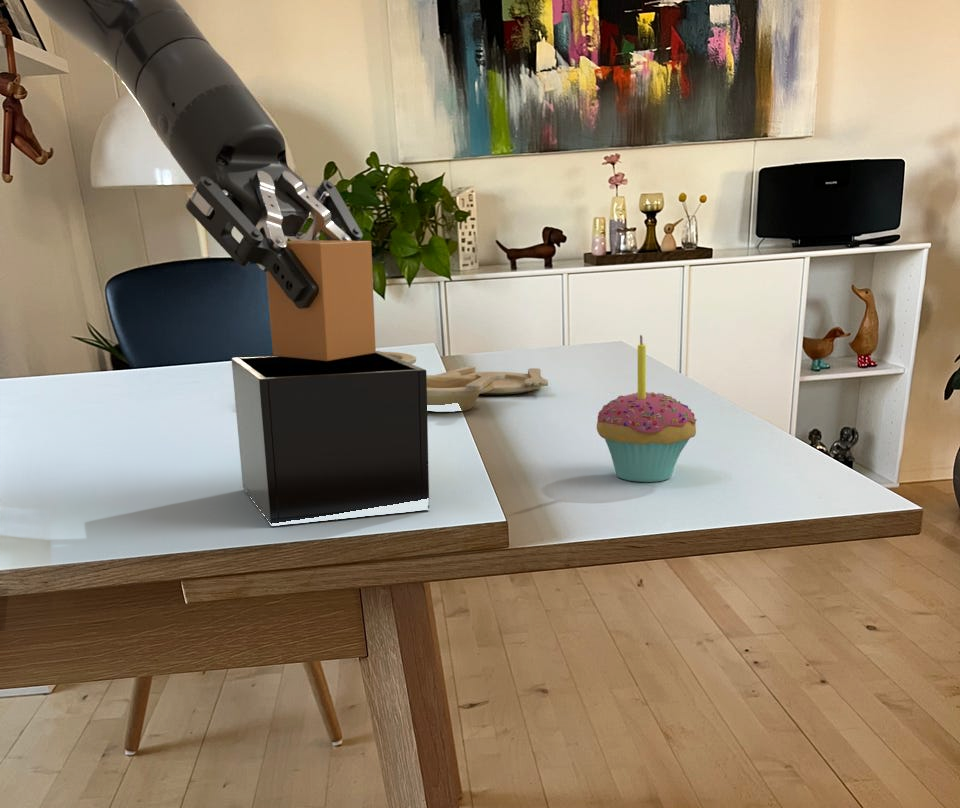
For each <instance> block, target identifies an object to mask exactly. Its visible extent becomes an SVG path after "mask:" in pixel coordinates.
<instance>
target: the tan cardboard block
mask: <svg viewBox="0 0 960 808" xmlns="http://www.w3.org/2000/svg"><path fill="white" fill-rule="evenodd" d="M286 242H287V246H286V248H285V249H292V250H293V252H294V253H295V254H296V256H297V257H298V259H299V260H300V261H301V263H302V264H303V265H304V267H305V268H306V269H307V271H308V272H309V273H310V275H311V276H312V278H313V279H314V280H315V282H316V283H317V284H318V287H319V293H318V295H317V296H316V298H315V299H314V301H313V302H312V304H311V305H310V307H309V308H303V309H299V308H297V307H296V305H295V304H294V302H293V301H292V300H291V299H289V298H288V297H287V295H286V294H285V293H284V291H283V290H282V289H281V287H280V285H278V283H277V282H276V280H275V279H274V278H273V276H272V275H271V274H270V272H266V282H267V295H268V297H267V298H268V307H269V321H270V334H271V335H270V336H271V346H272V347H271V348H272V356H279V357H289V358H299V359H309V360H319V361H332V360H338V359H344V358H349V357H355V356H361V355H367V354H373V353H376V351H377V348H376V347H377V346H376V326H375V325H376V323H375V301H374V300H375V299H374V289H373V280H374V278H373V277H374V276H373V256H372V255H373V254H372V253H373V252H372V241H371V240H360V241H339V240H327V239H325V240H324V239H319V240H306V241H291V240H286Z"/></svg>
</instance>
